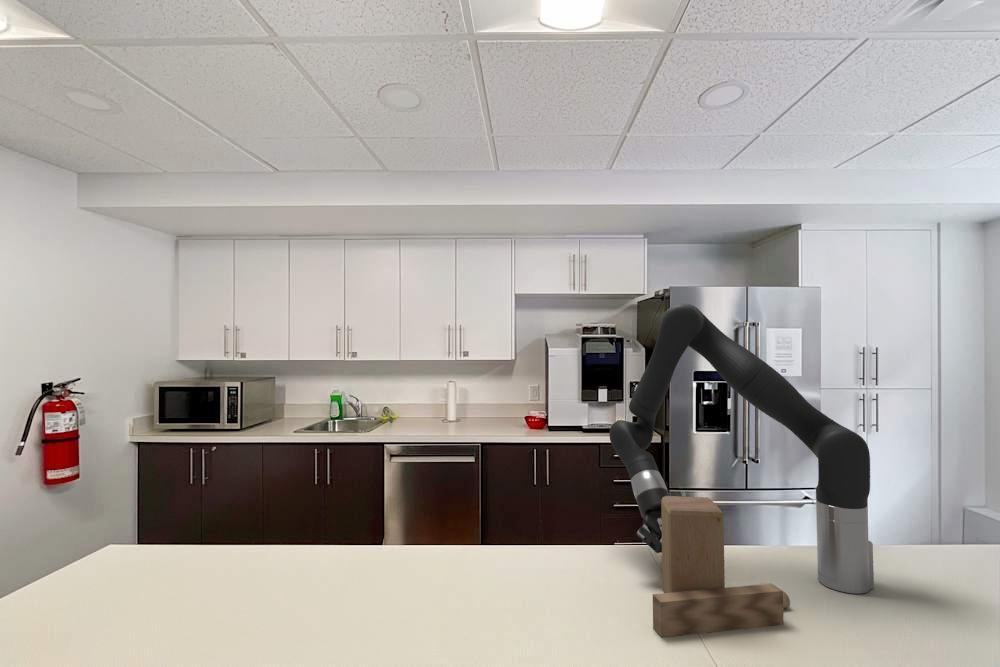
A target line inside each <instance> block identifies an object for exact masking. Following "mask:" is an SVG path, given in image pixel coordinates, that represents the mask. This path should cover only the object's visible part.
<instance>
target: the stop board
mask: <svg viewBox="0 0 1000 667" xmlns="http://www.w3.org/2000/svg"><path fill="white" fill-rule="evenodd" d="M760 584H761V585H760ZM760 584H751V585H750V586H749V585H739V587H738V586H729V587H728V586H727V587H728V588H727V587H725V588H717V589H706V590H695V591H684V592H673V593H664V592H662V593H654V594H653V593H652V629H653V630H654V631H655V632H656V634H657V635H658V636H659V637H660V638H666V637H667V638H669V637H677V636H686V635H688V636H689V635H696V634H705V633H715V632H725V631H732V630H733V631H735V630H742V629H743V630H744V629H752V628H762V627H771V626H780V625H784V623H785V622H784V620H785V619H784V618H785V617H784V609H783V591H784V590H782V589H781V588H779V587H777V586H776V585H775V584H773V583H763V584H762V583H760Z"/></svg>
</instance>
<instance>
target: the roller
mask: <svg viewBox="0 0 1000 667" xmlns="http://www.w3.org/2000/svg"><path fill="white" fill-rule="evenodd" d="M782 591H783V610H784V609H789V608H790V607H791V600H790V597H789V596H788V593H787V592H786V591H784V590H782Z"/></svg>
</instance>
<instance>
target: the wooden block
mask: <svg viewBox="0 0 1000 667" xmlns="http://www.w3.org/2000/svg"><path fill="white" fill-rule="evenodd" d="M661 517H662V553H661V572H662V573H661V578H662V579H661V581H662V584H661V585H662V586H661V587H662V593H673V592H684V591H695V590H706V589H717V588H726V586H725V584H726V583H725V578H726V576H725V534H724V533H725V532H724V531H725V528H724V527H725V524H724V523H725V522H724V520H725V519H724V518H725V517H724V513H723V511H722V509H721V508H719V506H718V505H717V504H716V503H715V502H714V501H713V500H712V499H711V498H709V497H704V496H703V497H702V496H679V495H678V496H675V495H671V496H665V497H663V498H662V500H661Z"/></svg>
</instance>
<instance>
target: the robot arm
mask: <svg viewBox="0 0 1000 667" xmlns="http://www.w3.org/2000/svg"><path fill="white" fill-rule="evenodd" d="M660 323H661V324H660V328H659V331H658V334H657V335H658V336H657V339H656V343H655V345H654V348H653V351H652V354H651V356H650V359H649V361H648V363H647V365H646V368H645V370H644V372H643V374H642V375H641V378H640V379H639V381H638V384H637V385H636V386H637V387H636V388H635V391H634V393H633V394H632V397H631V399H630V401H629V405H628V409H629V412H630V413H631V414H632V415H634V416H636V417H637V420H636V422H632V421H627V420H624V419H623V420H621V419H620V420H616V421H615V422H614V423H612V424H611V426H610V429H609V432H608V433H609V440H610V441H609V442H610V444H611V446H612V448H613V450H614V451H615V452H616V454H617V456H618V457H619V459H620V461H621V462H622V463H623V465H624V466H625V468H626V471H627V474H628V476H629V479H630V483H631V487H632V492H633V495H634V499H635V501H636V503H637V507H638V509H639V513H640V516H641V518H642V526H639V529H638V530H637V532H636V536H637V537H638V538H639V539H640V540H642V542H644V543H645V544H646V545H647V546H648V547H649V548H650V549H651V550H653V551H654V552H655V553H656V554H659V553H660V554H662V517H661V500H662V498H663V497H665V496H670V492H669V490H668V488H667V485H666V483H665V481H664V479H663V477H662V475H661V473H660V470H659V467H658V465H657V463H656V459H655V458H654V456H653V454H651V453H650V452H649V451H647V450H646V449H648V448H649V447H650V446H651V443H652V441H653V437H654V431H655V426H656V425H655V424H656V418H657V414H658V412H659V411H660V408H661V405H662V404H663V401H664V399H665V397H666V395H667V392H668V390H669V387H670V384H671V382H672V378H673V376H674V372H675V371H676V368H677V366H678V363H679V361H680V360H681V358H682V356H683V354H684V353H685V351H686V350H687V348H688V347H690V348H691V349H692V350H693V351H695V352H696V353H698V354H699V355H700V356H702V357H703V358H704V359H705V360H706V361H707V362H708V363H709V364H710V365H711V366H712V367H713V369H714V370H715V371H716V372H717V373H718V374H719V376H720V377H721V378H722V379H723V380H724V382H726V384H727V385H728V386H730V387H731V389H733V391H735V393H737V394H738V395H739V396H741V397H742V398H744V400H746V401H747V402H748V403H750V404H751V405H752V406H754V407H755V409H758V410H759V411H760V412H762V413H764V414H765V415H766V416H768V417H769V418H772V419H773V420H775V421H776V422H777V423H780V424H781V425H782V426H784V427H786V428H787V429H788V430H789V431H790V432H791V433H793V434H794V435H795V437H797V438H798V439H799V440H800V441H801V442H802V443H804V445H805V446H806V447H807V448H808V449H809V450H810V451H811V452H812V453H813V454H814V455H815V457H816V458H817V459H818V461H817V467H818V470H817V471H818V472H817V474H818V476H817V477H818V478H817V479H818V480H817V486H815V487H816V488H815V508H816V509H815V510H816V511H815V513H816V544H817V546H816V547H817V549H816V550H817V551H816V552H817V554H816V555H817V557H816V558H817V580H818V582H819V583H820V584H822V585H823V586H825V587H827V588H829V589H832V590H835V591H839V592H842V593H848V594H858V595H859V594H865V593H868V592H870V590H873V589H875V581H874V580H875V579H874V578H875V577H874V574H875V573H874V545H873V542H872V541H871V540H870V539H869V515H868V514H869V513H868V512H869V511H868V510H869V509H868V507H869V506H868V498H869V497H870V496H869V495H870V492H871V456H870V455H871V453H870V449H869V446H868V444H867V442H866V440H865V439H864V438H863V437H862V436H861V435H860V434H858V433H856V432H855V431H853V430H851V429H850V428H847V427H845V426H844V425H841V424H840V423H838V422H836V421H835V420H833V419H832V418H831V417H829V416H827V415H826V414H824V413H823V412H821V411H820V410H819V409H817V408H816V407H814V406H813V405H812V404H811V403H810V402H809V401H808V400H806V399H805V398H804V396H803V395H802V394H801V393H800V392H799V391H798V390H797V389H796V388H795V386H793V384H792V383H790V382H789V381H788V380H787V379H786V378H785V377H784V376H783V375H782V374H781V373H779V372H778V371H777V370H776V369H775V368H773V367H772V366H771V365H769V363H767V362H765V361H764V360H762V359H761V358H760V357H759V356H758V355H756V354H754V353H753V352H752V351H750V350H749V349H747V348H745V347H744V346H742V345H741V344H740V343H738V342H736V341H735V340H733V339H732V338H730V337H729V336H728V335H726V334H725V333H724V332H722V331H721V330H720V328H718V327H717V326H716V325H715V324H714V323H713V322H712V321H711V320H710V319H709V318H708V317H707V316H706V315H705V314H704V313H703V312H702V311H701V310H700V309H699V308H698V307H697V306H695V305H692V304H691V303H690V304H689V303H678V304H674V305H672V306H670V307H669V308H668V309H667V310H666V311H665V312H664V313H663V315H662V317H661V322H660Z"/></svg>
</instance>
